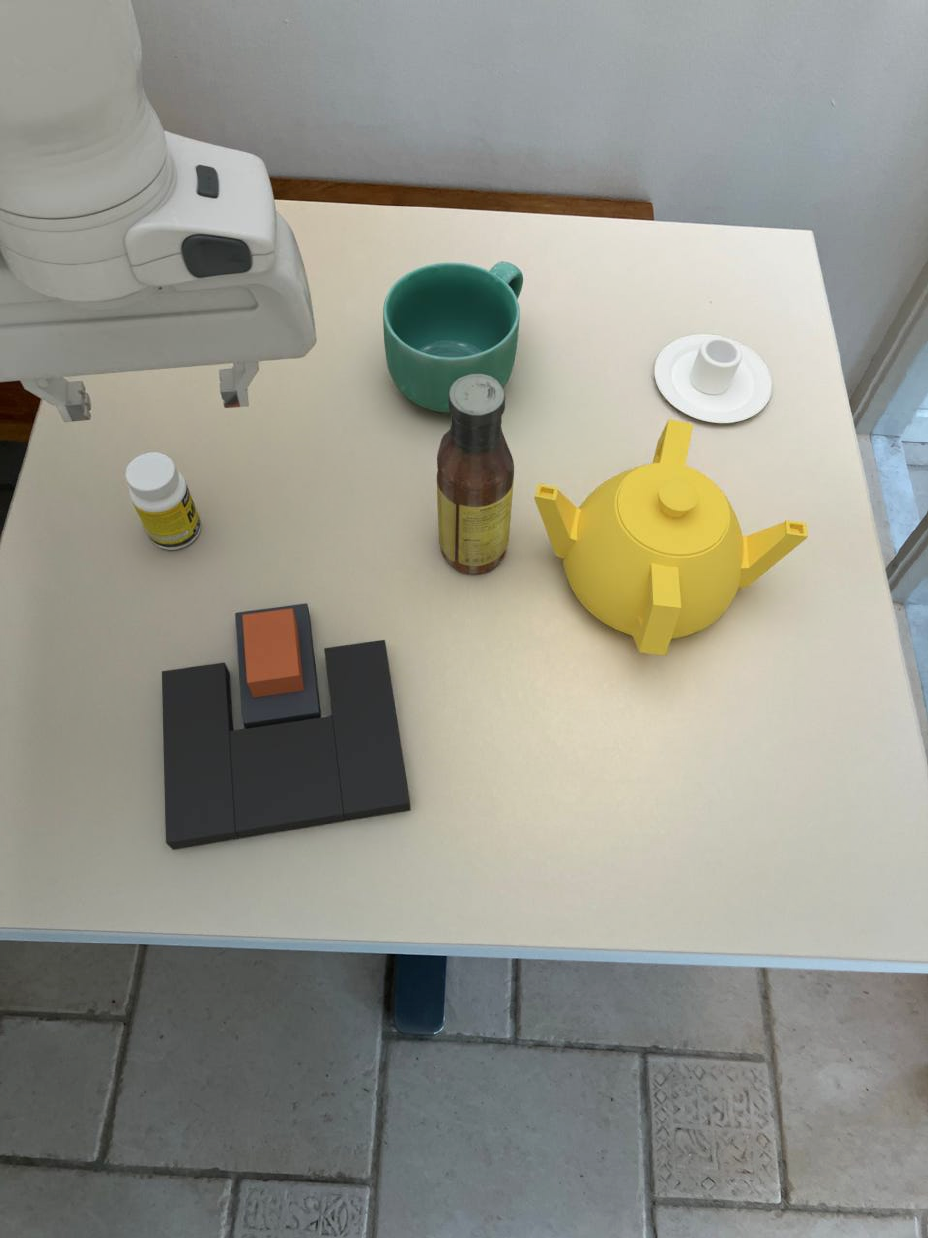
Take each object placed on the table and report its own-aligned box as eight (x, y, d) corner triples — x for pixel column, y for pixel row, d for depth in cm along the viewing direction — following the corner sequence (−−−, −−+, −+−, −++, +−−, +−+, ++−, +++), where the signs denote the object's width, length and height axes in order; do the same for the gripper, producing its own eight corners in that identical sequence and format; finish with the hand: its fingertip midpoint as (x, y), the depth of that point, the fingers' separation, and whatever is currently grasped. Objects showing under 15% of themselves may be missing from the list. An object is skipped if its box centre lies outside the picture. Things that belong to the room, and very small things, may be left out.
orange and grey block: (246, 732, 71) (234, 708, 66) (239, 623, 75) (227, 594, 71) (321, 721, 72) (315, 697, 67) (309, 614, 76) (303, 584, 72)
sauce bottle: (519, 539, 81) (545, 385, 63) (485, 589, 78) (502, 443, 60) (457, 507, 82) (466, 348, 64) (421, 556, 79) (421, 404, 62)
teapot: (655, 469, 85) (687, 380, 74) (778, 593, 79) (833, 516, 68) (516, 552, 80) (530, 469, 69) (636, 691, 74) (672, 625, 63)
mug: (449, 451, 85) (452, 381, 77) (360, 380, 89) (353, 306, 80) (562, 362, 91) (576, 288, 83) (473, 299, 95) (478, 223, 87)
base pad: (172, 850, 66) (165, 843, 64) (167, 681, 73) (161, 670, 71) (410, 810, 68) (410, 803, 67) (385, 649, 75) (384, 639, 73)
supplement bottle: (207, 542, 79) (185, 485, 72) (154, 557, 78) (126, 501, 71) (194, 501, 81) (171, 441, 74) (143, 515, 80) (114, 456, 73)
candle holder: (774, 352, 93) (789, 321, 89) (764, 439, 87) (779, 409, 84) (661, 329, 94) (671, 296, 90) (644, 412, 88) (654, 382, 85)
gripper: (-158, 271, 39) (-25, 463, 52) (305, 241, 42) (327, 431, 54) (-138, 178, 42) (-16, 381, 54) (294, 156, 45) (318, 354, 57)
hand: (158, 406), depth 54 cm, fingers open, 8 cm apart
